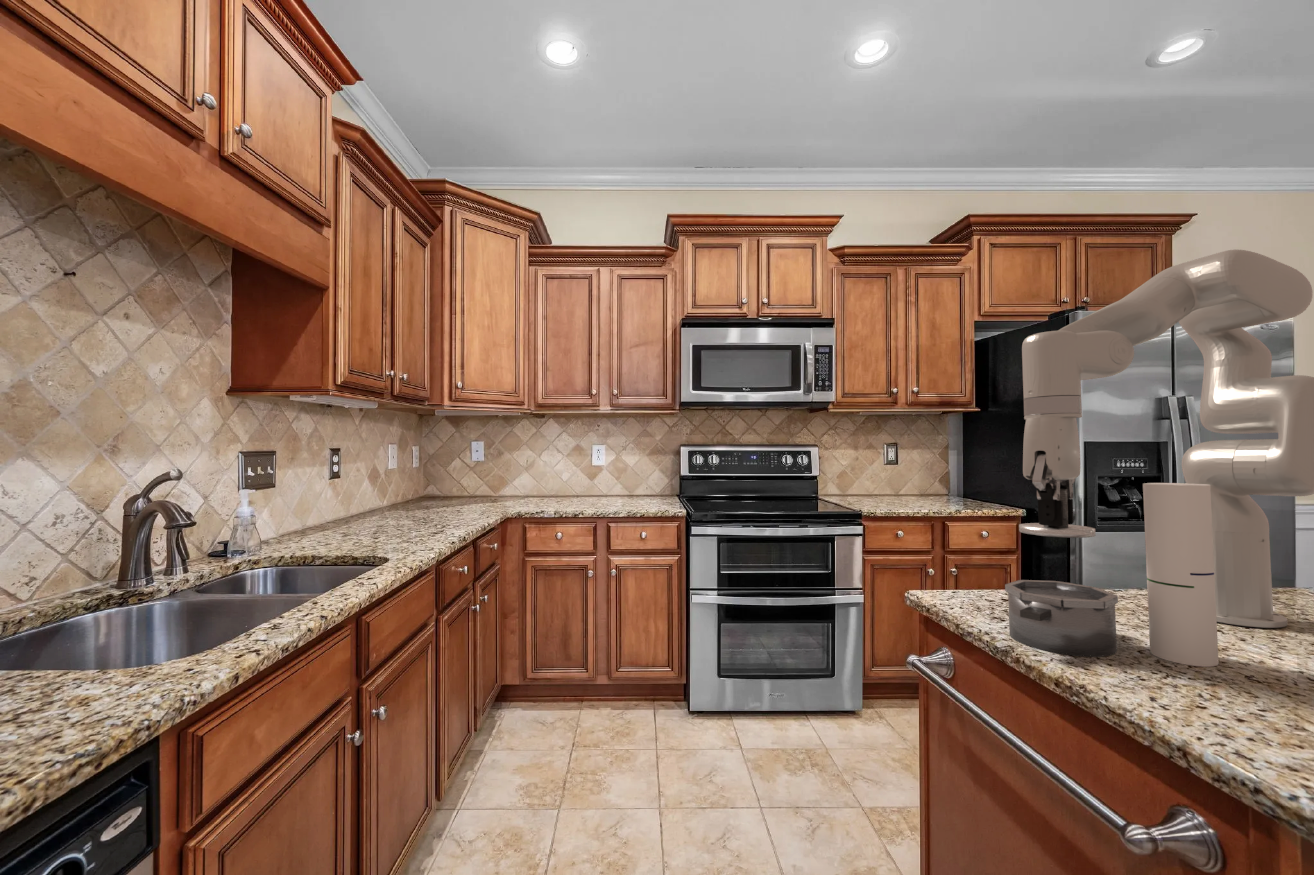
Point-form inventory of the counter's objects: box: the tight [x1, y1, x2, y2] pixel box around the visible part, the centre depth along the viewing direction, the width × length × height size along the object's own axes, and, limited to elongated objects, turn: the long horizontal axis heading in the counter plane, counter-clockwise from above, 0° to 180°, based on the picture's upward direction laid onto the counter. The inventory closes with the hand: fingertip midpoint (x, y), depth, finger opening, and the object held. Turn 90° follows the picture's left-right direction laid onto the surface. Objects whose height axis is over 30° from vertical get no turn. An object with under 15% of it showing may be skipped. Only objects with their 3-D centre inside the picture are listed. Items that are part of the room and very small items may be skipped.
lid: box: [1018, 489, 1096, 539], centre depth 87 cm, size 10×10×7 cm
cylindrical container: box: [1142, 482, 1220, 668], centre depth 79 cm, size 7×7×25 cm
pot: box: [1004, 579, 1119, 658], centre depth 86 cm, size 21×14×8 cm, turn 124°
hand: (1056, 523), depth 87 cm, fingers closed on lid, 3 cm apart
